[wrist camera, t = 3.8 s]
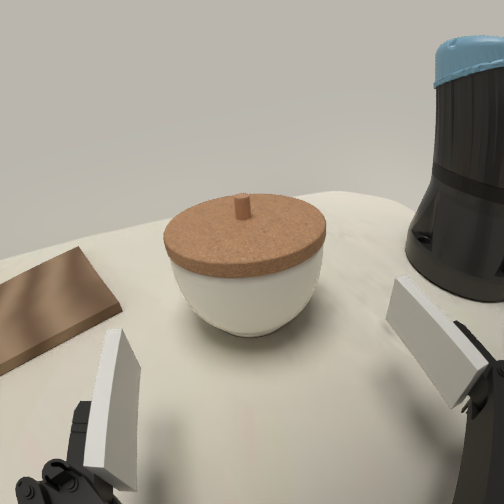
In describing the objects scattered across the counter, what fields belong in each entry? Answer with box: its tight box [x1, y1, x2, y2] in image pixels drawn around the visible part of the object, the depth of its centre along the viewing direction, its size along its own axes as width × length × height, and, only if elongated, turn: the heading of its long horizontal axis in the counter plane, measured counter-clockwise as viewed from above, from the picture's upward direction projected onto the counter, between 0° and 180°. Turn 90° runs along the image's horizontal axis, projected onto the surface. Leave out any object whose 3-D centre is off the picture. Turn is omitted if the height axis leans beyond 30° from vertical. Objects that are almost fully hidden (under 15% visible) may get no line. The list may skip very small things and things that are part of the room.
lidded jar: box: [163, 193, 326, 337], centre depth 21 cm, size 11×11×9 cm
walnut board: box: [0, 246, 122, 376], centre depth 24 cm, size 16×16×1 cm
